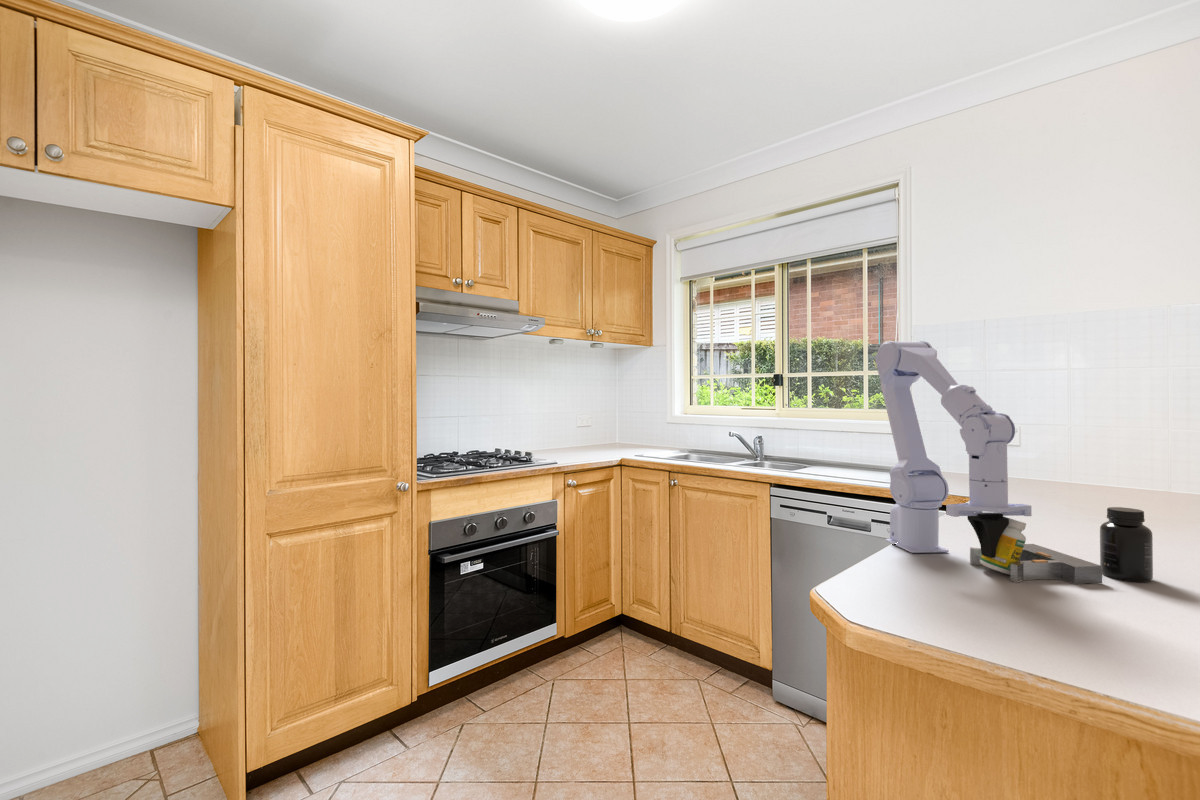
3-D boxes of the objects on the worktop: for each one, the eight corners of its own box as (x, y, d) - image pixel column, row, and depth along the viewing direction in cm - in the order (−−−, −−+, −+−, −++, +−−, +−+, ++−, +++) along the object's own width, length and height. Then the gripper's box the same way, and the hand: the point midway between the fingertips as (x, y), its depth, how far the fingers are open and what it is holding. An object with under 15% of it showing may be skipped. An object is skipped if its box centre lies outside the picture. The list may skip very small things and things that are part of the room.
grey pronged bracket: (962, 560, 108) (962, 544, 108) (1033, 559, 109) (1033, 542, 109) (1021, 585, 94) (1021, 566, 94) (1102, 583, 95) (1102, 564, 95)
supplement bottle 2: (1130, 571, 102) (1131, 505, 102) (1164, 584, 95) (1165, 513, 95) (1089, 570, 102) (1090, 505, 102) (1120, 582, 96) (1120, 513, 95)
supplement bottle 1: (983, 563, 105) (999, 514, 104) (1017, 576, 101) (1034, 525, 100) (975, 562, 101) (992, 512, 101) (1010, 576, 97) (1027, 523, 97)
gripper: (965, 483, 96) (966, 562, 96) (1045, 482, 97) (1047, 561, 96) (938, 478, 103) (939, 552, 103) (1013, 478, 104) (1014, 551, 103)
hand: (989, 556), depth 100 cm, fingers closed, pressing on supplement bottle 1
